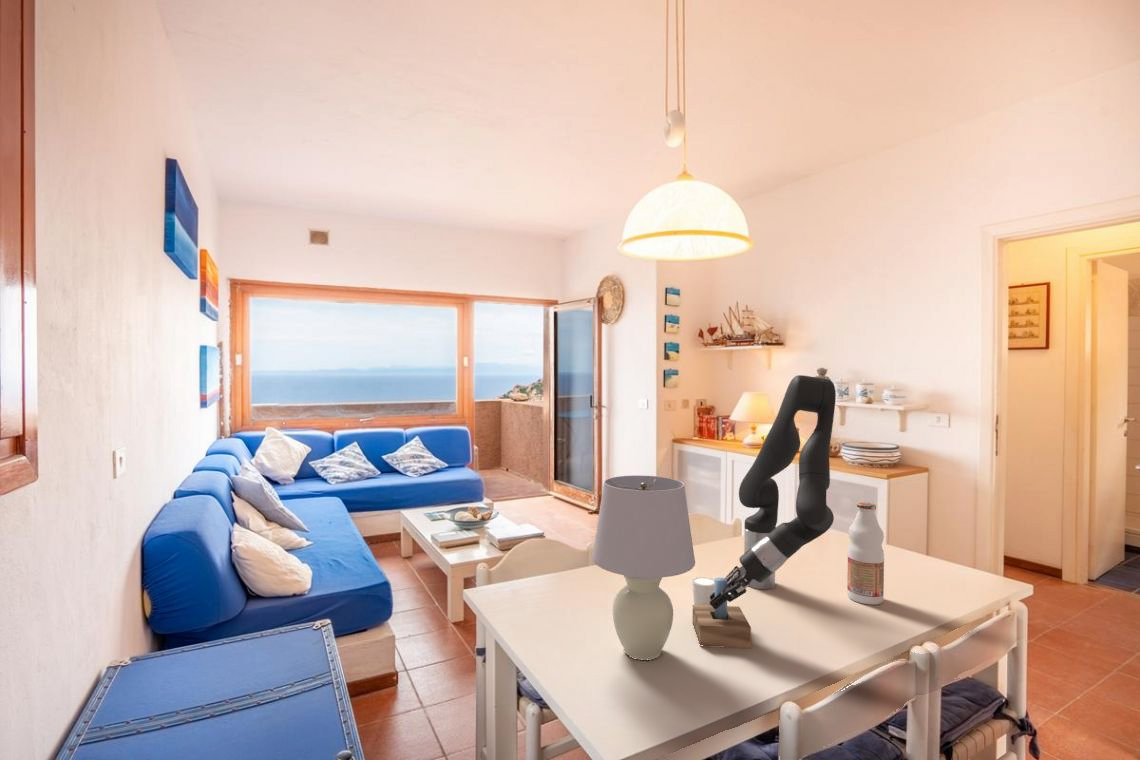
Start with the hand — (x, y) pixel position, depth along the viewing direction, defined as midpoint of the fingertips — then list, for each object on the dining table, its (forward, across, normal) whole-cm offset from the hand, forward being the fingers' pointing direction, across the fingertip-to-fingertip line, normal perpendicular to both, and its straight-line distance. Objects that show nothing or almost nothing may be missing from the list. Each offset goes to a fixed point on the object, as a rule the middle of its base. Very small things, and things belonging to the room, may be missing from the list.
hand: (712, 602), depth 140 cm
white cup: (+7, -18, +4) cm, 20 cm away
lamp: (+17, +13, -6) cm, 22 cm away
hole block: (+4, 0, +7) cm, 8 cm away
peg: (+1, 0, +4) cm, 4 cm away
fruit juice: (-25, -35, +37) cm, 56 cm away
